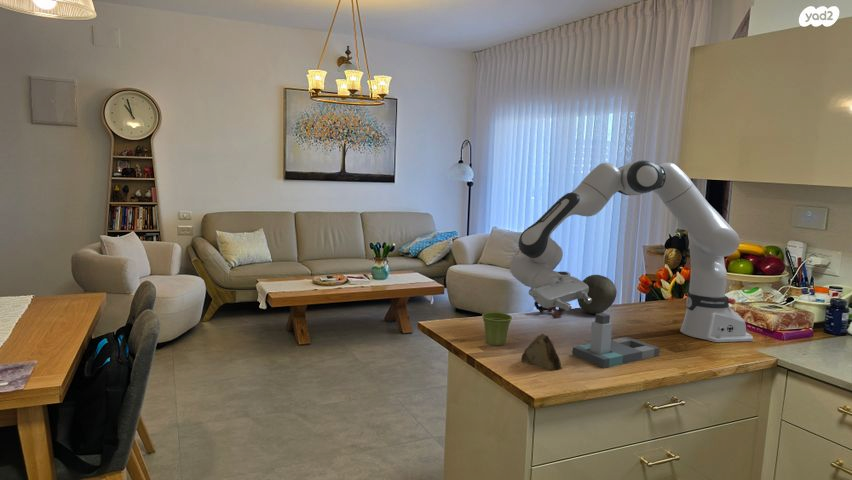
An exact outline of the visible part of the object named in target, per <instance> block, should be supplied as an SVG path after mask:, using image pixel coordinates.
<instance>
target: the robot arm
mask: <svg viewBox="0 0 852 480" xmlns="http://www.w3.org/2000/svg"><path fill="white" fill-rule="evenodd" d="M650 192H654V193H656V194H657V195H658V197H659V198H660V199H661V201H662V202H663V204H664V205H665V207H667V209H668V210H669V211H670V213H671V214H672V215H673V217H674V218H675V219H676V221H677V222H678V223H679V224H680V225H681V226H682V227H683V228H684V229H685V230H686V231H687V232H688V233H687V238H688V241H689V242H688V243H689V244H688V245H689V257H690V275H689V276H690V277H689V286H688V287H689V289H688V292H687V296H686V302H685V303H686V304H685V305H686V306H685V307H686V310H685V311H686V312H685V315H684V319H683V322H682V325H681V326H680V329H679V331H680V333H682V334H683V335H686V336H689V337H692V338H697V339H700V340H701V339H702V340H706V341H710V342H713V343H726V342H727V343H729V342H730V343H731V342H732V343H733V342H735V343H736V342H752V341H754V337H753V335H752V334H751V333H749V332H747V326H746V321H745V319H744V318H742V316H740V315H739V314H738V313H737V312H736V311H735V310H733V309H732V308H731V307H730V305H732V306H734V305H735V304H736V303H737V300H736V299H735V298H733V297H728V296H727V295H726V287H727V278H728V272H727V269H726V264H725V257H730V256H731V255H733V254H734V253H736V251H737V250H738V249H739V247H740V243H741V239H740V236H739V234H738V233H737V231H736V230H734V229H733V228H732V226H731V225H730V224H729V223H728V222H727V221H726V219H724V218H723V216H722V215H721V214H720V213H719V212H718V211H717V210H716V209H715V208H714V207H713V206H712V205H711V204H710V203H709V202H708V200H707V199H706V198H705V197H704V195H702V193H701V191H700V190H699V189H698V187H697V186H696V185H695V184H694V182H693V181H692V179H690V177H689V176H688V175H687V174H686V173H685V172H684V171H683V170H682V169H681V168H680V167H679V166H678V165H676V164H675V163H673V162H663V163H661V164H657V163H654V162H653V161H649V160H638V161H632V162H630V163H627V164H626V165H623V166H620V167H617V166H616V165H614V164H612V163H610V162H602V163H599V164H597V166H596V167H595V168H593V169H592V170H591V171H590V172H589V173H588V174H587V175H586V176H585V177H584V178H583V179H582V181H581V182H580V183H579V185H577V187H575V189H574V190H572V191H571V192H567V193H565V194H564V195H562V196H561V197H560V198H559V199H558V200H556V202H555V203H554V204H553V205H552V206H551V207H550V208H548V210H547V211H545V212H544V213H543V214H542V216H541V217H540V218H538V220H536V221H535V222H534V223H533V224H532V225H530V226H528V227H527V228H525V229H524V230H522V231H523V232H521V233H520V236H519V238H518V245H517V246H518V248H519V251H520V252H521V253H519V254H516V255H514V257H512V259H511V260H510V263H509V270H510V273H511V275H512V276H513V277H514V278H515V279H516V280H517V281H518V282H520V283H521V284H522V285H523V286H526V287H528V288H530V289H528V290H529V291H528V295H529V296H531V297H532V298H533V300H534V302H535V301H536V302H537V303H538V305H539V306H542V307H544V308H551V307H554V306H556V308H558V309H559V308H562V309H565V310H566V311H567V312H568V311H571V310H572V307H573V305H572V304H570V303H569V302H572V301H575V300H577V299H579V298H581V299H584V303H586V304H589V303H591V301H592V299H591V298H590V297H588V295H587V294H588V290H589V287H588V285H587V284H586V283H584V282H582V281H583V280H581V279H579V278H577V277H576V276H573V275H571V272H568V271H556V270H555V268H557V266H558V265H560V263H561V262H562V259H563V255H564V254H563V253H564V252H563V248H561V246H560V245H559V244H558V243H557V242H556V241H555V240H553V238H552V237H551V236H552V233H553V232H554V231H555V230H556V229H557V228H558V227H559V226H560V225H561V224H562V223H563V222H564V221H565V220H566V219H567V218H569V217H570V216H575V215H577V216H581V217H593V216H595V215H597V214H598V213H600V212H601V211H602V210H603V209H604V208H605V207H606V205H607V204H608V203H609V201H610V200H611V198H612V197H613V196H614V195H615V194H616V193H620V194H622V195H625V196H641V195H643V194H648V193H650Z"/></svg>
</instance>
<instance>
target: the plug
mask: <svg viewBox="0 0 852 480" xmlns="http://www.w3.org/2000/svg"><path fill="white" fill-rule="evenodd" d="M610 316H611V315H610V314H607V313H604V312H601V313H598V314H595V320H594V321H591V331H590V343H589V344H590V351H592V352H595V353H597V354H600V355H603V354H607V353H610V346H611V340H612V334H613V333H612V331H613V323H611V322H610V319H611V317H610Z"/></svg>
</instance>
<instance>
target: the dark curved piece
mask: <svg viewBox="0 0 852 480" xmlns="http://www.w3.org/2000/svg"><path fill="white" fill-rule="evenodd" d="M533 303H534V307H535V308H536V310H538V311H539V313H540V314H542V313H543V312H544V311H545V312H546V311H547V312H549V313H551V312H552V311H553V314H552V318H554V319H557V318H558V317H560V316H563V315H564V314H566V310H565V309H562V308H558V309H557V307H556V306H554V307H551V308H544V307H542V306H541V305H539V304H538V303H537V302H536V301H535V300H534V302H533Z"/></svg>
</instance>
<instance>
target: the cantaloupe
mask: <svg viewBox="0 0 852 480" xmlns="http://www.w3.org/2000/svg"><path fill="white" fill-rule="evenodd" d="M581 281H582V282H584V283H586V284H587V285H588V287H589V290H588V294H587V295H588V297H590V298H591V299H592V301H591V303H589V304H586V303H584V299H581V298H579V299H576V300H577V303H578V306H579V308H580V309H582V310H583V311H584V312H586V313H588V314H590V315H596V314H599V313H604V312H605V311H607V310H608V309H609V308H610V307H611V306H612V305H613V304H614V303H615V300H616V297H617V294H618V293H617V288H616V285H615V283H614V282H613V280H611V279H610V278H608V277H607V276H604V275H601V274H592V275H588V276H586V277H585V278H584V279H583V280H581Z"/></svg>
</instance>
